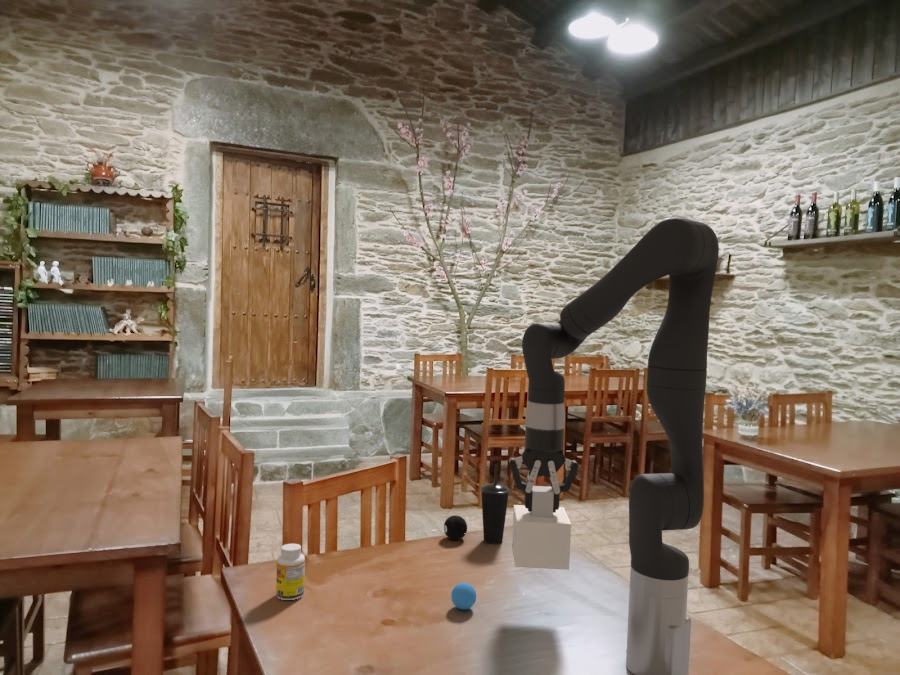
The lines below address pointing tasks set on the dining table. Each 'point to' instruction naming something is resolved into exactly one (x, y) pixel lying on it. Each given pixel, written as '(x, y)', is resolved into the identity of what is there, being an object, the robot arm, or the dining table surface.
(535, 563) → the white block with stub
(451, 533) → the billiard ball
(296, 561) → the supplement bottle
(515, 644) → the dining table surface
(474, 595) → the blue ball
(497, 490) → the drinking cup
